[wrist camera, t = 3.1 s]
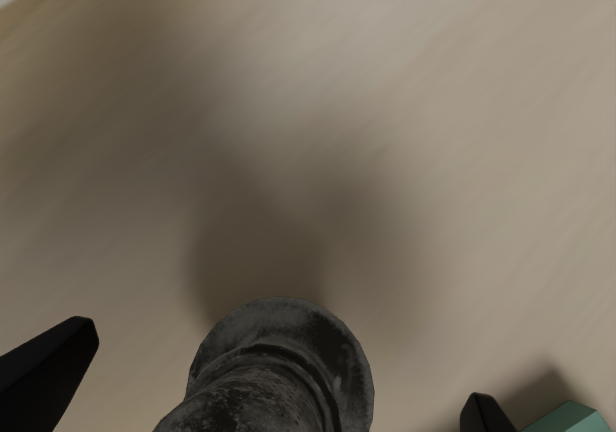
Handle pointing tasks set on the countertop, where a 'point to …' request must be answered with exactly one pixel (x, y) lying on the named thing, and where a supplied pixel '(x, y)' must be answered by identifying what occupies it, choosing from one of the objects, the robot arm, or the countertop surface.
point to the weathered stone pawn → (276, 374)
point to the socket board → (570, 420)
